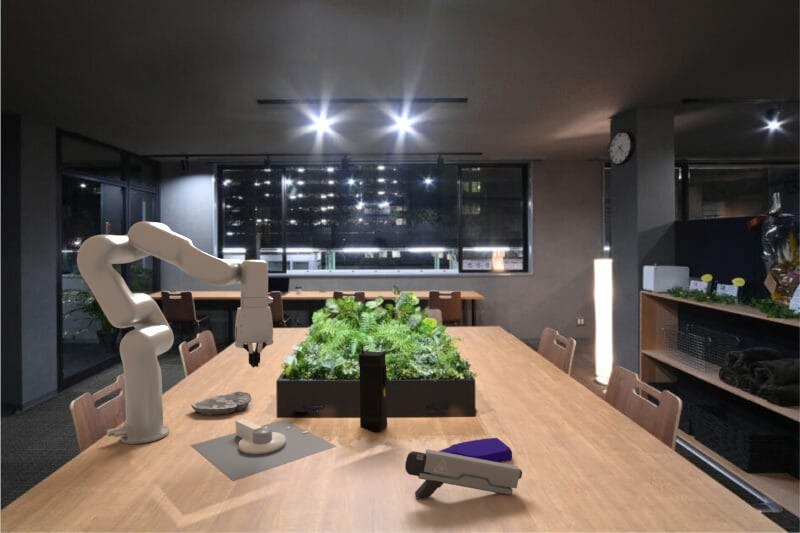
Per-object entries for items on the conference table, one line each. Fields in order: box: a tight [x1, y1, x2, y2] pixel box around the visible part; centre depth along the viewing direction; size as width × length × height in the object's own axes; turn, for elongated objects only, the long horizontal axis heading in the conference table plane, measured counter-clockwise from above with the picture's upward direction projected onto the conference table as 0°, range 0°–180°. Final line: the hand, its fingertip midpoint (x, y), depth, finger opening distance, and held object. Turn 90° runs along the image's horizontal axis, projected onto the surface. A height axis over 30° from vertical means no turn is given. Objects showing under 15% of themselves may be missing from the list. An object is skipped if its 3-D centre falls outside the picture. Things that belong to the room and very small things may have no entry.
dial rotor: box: [235, 418, 286, 454], centre depth 132 cm, size 18×12×4 cm, turn 47°
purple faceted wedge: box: [439, 437, 513, 463], centre depth 123 cm, size 3×11×24 cm
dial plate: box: [190, 419, 337, 482], centre depth 130 cm, size 28×28×2 cm
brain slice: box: [190, 391, 252, 416], centre depth 166 cm, size 20×17×3 cm
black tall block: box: [358, 344, 389, 433], centre depth 145 cm, size 8×6×25 cm
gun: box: [404, 449, 523, 500], centre depth 105 cm, size 2×25×10 cm, turn 93°
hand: (254, 366), depth 141 cm, fingers closed
